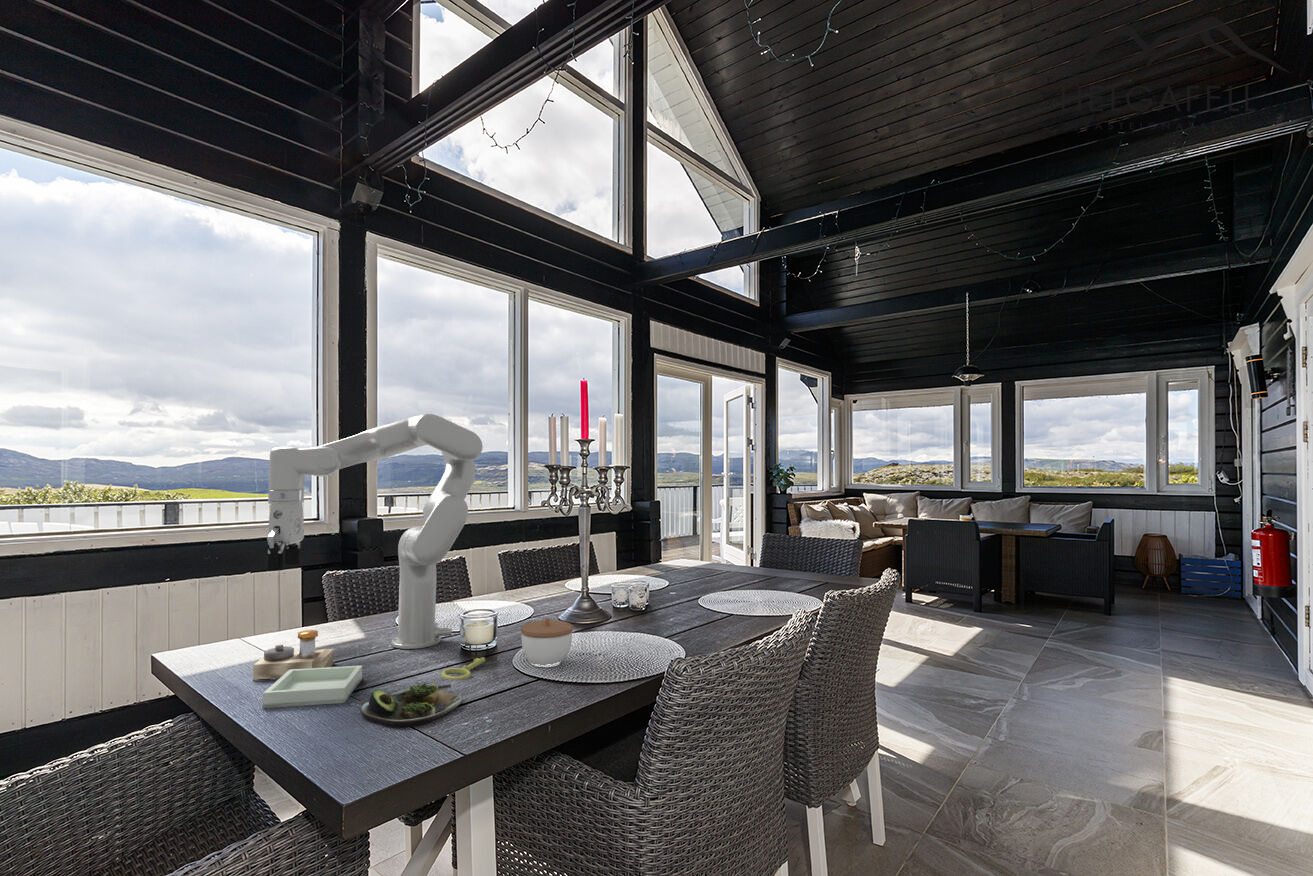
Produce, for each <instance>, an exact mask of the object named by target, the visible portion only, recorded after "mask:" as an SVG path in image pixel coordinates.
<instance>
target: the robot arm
mask: <svg viewBox="0 0 1313 876" xmlns="http://www.w3.org/2000/svg"><path fill="white" fill-rule="evenodd" d="M423 446H430V447H432V448H433V449H436V450H437V451H440V452H441V455H442V456H443V459H444V463H445V469H444V472H443V475H442V476H441V479H440V480H439V482H438V484H437V485H436V487H435V488H434V490H433V492H432V493H431V494H430V496H429V497H428V499H427V501H426V502H425V503H424V506H423V508H422V515H423V519H424V520H425V522H424V524H423V525H422V526H414V527H411V528H408V529H406V530H405V531H404V532H403V534H401V537H400V539H399V541H398V545H397V547H398V548H397V550H398V551H397V555H398V565H399V585H398V617H397V618H398V619H397V620H398V621H397V627H398V628H397V636H396V637H394V638H393V639H391V646H392V647H393V648H396V649H400V650H401V649H402V650H403V649H404V650H413V649H414V650H415V649H423V648H429V647H432V646H436V645H438V644H439V643H440V642H441V640H442V638H441V637H442V636H445V637H446V636H447V637H449V636H450V637H451V636H452V634H453V629H452V628H451V627H450V628H449V627H440V626H438V622H436V608H437V607H436V605H437V604H436V603H437V564H438V563H440V562H441V561H443V560H444V559H445V557H446V556H447V554H448V553H449V551H450V550H451V548H452V546H453V544H454V543H455V541H456V539H457V538H458V537H459V535H460V533H461V531H462V530H463V528H464V526H465V524H466V522H467V520H468V515H469V507H468V504H467V502H466V500H465V499H466V497H467V495H469V492H470V490H471V488H472V487H473V484H474V482H475V478H476V477H475V476H476V466H475V465H476V464H475V460H477V459H478V458H479V457H480V455H481V454H482V452H483V442H482V440H481V437H479V435H478V434H477V433H475V432H473V431H471V430H470V429H468V428H465V427H463V426H461V425H460V424H456V422H455V423H454V422H452V421H450V420H448V419H445V418H443V417H441V416H439V415H436V414H435V413H424V414H423V413H422V414H418V415H413V416H411V417H408V418H407V417H406V418H404V419H400V420H397V421H394V422H391V423H388V424H383V425H381V426H378V427H377V426H376V427H373V428H371V429H368V430H365V431H361V432H360V433H358V434H355V435H352V436H348V437H346V438H342V439H340V440H339V439H338V440H336V441H332V442H329V443H325V444H322V445H319V446H315V447H309V448H307V447H305V448H304V447H303V448H302V447H295V446H278V447H277V446H275V447H273V448H272V449H271V450H270V453H269V465H268V466H269V470H268V471H269V472H268V501H267V503H268V504H270V507H269V508H270V509H269V517H268V527H267V528H268V529H267V533H268V534H267V538H266V541H267V548H268V550H267V554H268V555H267V556H268V561H267V570H268V571H270V572H274V571H277V572H278V571H284V569H285V567H284V565H286V566H287V565H299V564H300V558H301V557H300V554H301V551H300V549H301V543H300V542H302V541H303V540H304V538H305V527H304V525H305V522H304V508H303V507H304V505H303V503H305V502H304V499H305V498H304V497H305V476H314V477H322V478H325V477H328V476H329V477H330V476H332V475H334V474H335V473H336V472H337V471H339V470H341V469H344V468H347V467H351V466H355V465H357V464H358V465H359V464H362V463H368V462H369V463H370V462H375V461H379V460H380V461H381V460H384V459H387V458H391V457H393V456H396V455H399V454H402V453H404V452H407V451H411V450H414V449H417V448H420V447H423ZM285 546H286V548H285ZM284 548H285V549H284ZM283 551H285V552H284V553H283Z"/></svg>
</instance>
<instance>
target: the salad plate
mask: <svg viewBox="0 0 1313 876" xmlns="http://www.w3.org/2000/svg"><path fill="white" fill-rule="evenodd" d="M435 685H436V683H435V682H432V683H431V685H428V684H426V683H425V682H424V683H423V684H422V685H421V684H418V685H411V686H410V687H408V688H404V689H401V690H399V691H396V692H394V693H391V694H390V693H388V692H387V691H384V690H381V689H375V690H374V691H372V693H371V694H370V697H369V698H366V699H362V700H360V701H358V702H357V703H356V704H358V705H360V706H361V709H360V713H361V715H362V717H364V719H365V720H366V721H368V722H371V723H374V724H377V725H379V726H384V727H389V728H410V727H418V726H421V725H424V724H428V723H431V722H432V721H434V720H436V719H438V718H441V717H442V716H445V715H446V714H448V713H449V712H451V711H452V710H454V709H456V708H457V707H458V706H460V704H461V703H462V701H463V700H462V698H463V697H462V696H461V695H460V694H457V693H451V692H447V690H448V689H450V688H451V687H452V684H450V683H448V684H441V685H436V686H435ZM437 704H441V705H445V707H444V710H442V711H440V712H439V711H438V712H436V707H435V705H437Z"/></svg>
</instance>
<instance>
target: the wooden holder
mask: <svg viewBox="0 0 1313 876" xmlns="http://www.w3.org/2000/svg"><path fill="white" fill-rule="evenodd" d="M299 652H300V650H295V648H294V647H292V646H284V644H277V645H275V646H274V647H273V648H269V649H267V650H264V652H263V657H262V658H261V659H259V660H258V661H256V662H255V663H254V664H253V669H252V671H253V672H252V681H253V680H254V681H258V680H257V679H271V680H277V679H276V678H281V677H282V676H283V675H284V674H285V673H286V672H287V671H289V670H290V669H308V668H326V667H332V666H333V664H334V659H335V658H334V657H335V656H334V653H335V648H325V649H324V648H322V649H315V658H313V659H299ZM273 678H275V679H273Z"/></svg>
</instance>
